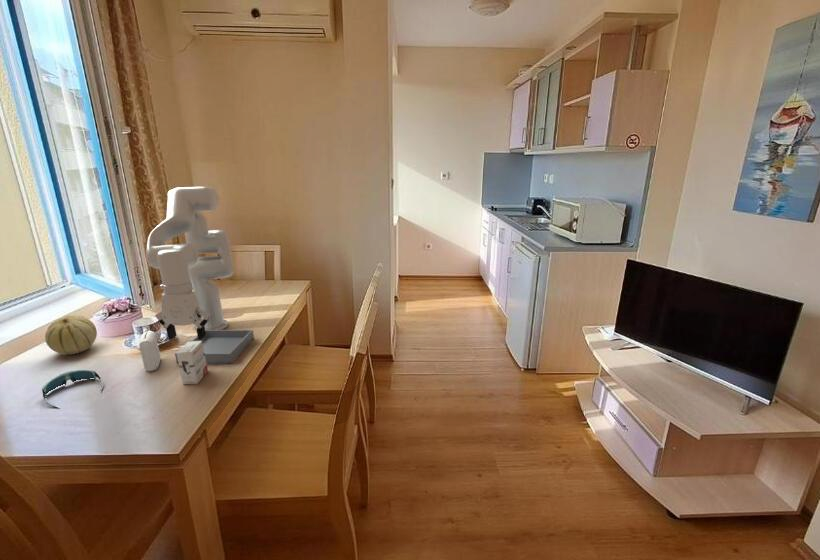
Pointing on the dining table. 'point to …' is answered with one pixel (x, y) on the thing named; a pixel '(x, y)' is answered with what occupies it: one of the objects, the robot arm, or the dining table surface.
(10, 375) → the dining table surface
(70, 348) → the cantaloupe
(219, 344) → the tray
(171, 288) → the robot arm
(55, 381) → the sunglasses
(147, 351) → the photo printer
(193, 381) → the ink box
